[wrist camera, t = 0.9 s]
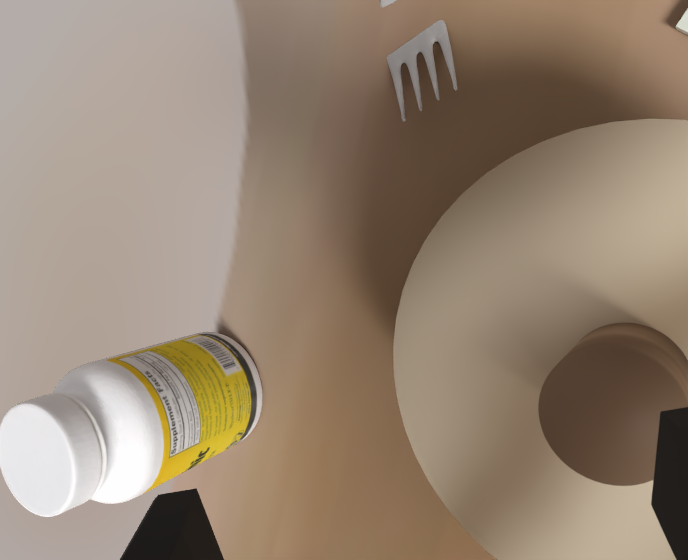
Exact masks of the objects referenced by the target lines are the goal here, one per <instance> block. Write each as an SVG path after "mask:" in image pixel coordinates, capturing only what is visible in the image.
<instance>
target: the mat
mask: <svg viewBox="0 0 688 560" xmlns="http://www.w3.org/2000/svg"><path fill="white" fill-rule="evenodd" d="M676 30H678V31H680V32H682V33H684V34H686V35H688V9H687V11H686V12H685V13H684V15H683V16H682V18H681V19H680V21H679V22H678V24H677V25H676Z"/></svg>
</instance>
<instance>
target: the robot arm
mask: <svg viewBox="0 0 688 560" xmlns="http://www.w3.org/2000/svg"><path fill="white" fill-rule="evenodd" d="M651 506H652V508H653V510H654V512H655V515H656V517H657V519H658V521H659V523H660V526H661V528H662V530H663V532H664V535H665V537H666V539H667V541H668V543H669V545H670V547H671V550H672V552H673V554H674V556H675V558H676V560H688V407H685V408H679V409H673V410H667V411H661V412H660V421H659V431H658V441H657V450H656V460H655V470H654V480H653V490H652V499H651ZM120 560H224V559H223V556H222V553H221V551H220V548H219V546H218V543H217V540H216V538H215V535H214V533H213V530H212V527H211V525H210V522H209V520H208V517H207V514H206V512H205V509H204V507H203V504H202V502H201V499H200V496H199V494H198V491H197V489H191V490H185V491H179V492H173V493H167V494H161V495H158V496H157V497H156V498H155V500H154V501H153V503H152V505H151V506H150V508H149V510H148V511H147V513H146V515H145V517H144V518H143V520H142V522H141V524H140V525H139V527H138V529H137V531H136V532H135V534H134V536H133V538H132V539H131V541H130V543H129V545H128V546H127V548H126V550H125V552H124V553H123V555H122V557H121V558H120Z"/></svg>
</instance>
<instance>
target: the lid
mask: <svg viewBox="0 0 688 560" xmlns="http://www.w3.org/2000/svg"><path fill="white" fill-rule="evenodd" d="M393 358H394V379H395V386H396V393H397V400H398V404H399V408H400V412H401V416H402V420H403V424H404V428H405V430H406V433H407V436H408V438H409V441H410V443H411V446H412V449H413V451H414V454H415V456H416V458H417V460H418V462H419V464H420V466H421V468H422V470H423V472H424V474H425V475H426V477H427V479H428V481H429V483H430V484H431V486H432V487H433V489H434V490H435V492H436V493H437V495H438V496H439V498H440V499H441V501H442V502H443V504H444V505H445V507H446V508H447V509H448V510H449V512H450V513H451V514H452V515H453V516H454V518H455V519H456V520H457V521H458V522H459V524H460V525H461V526H462V527H463V528H464V530H465V531H466V532H467V533H468V534H469V535H470V536H471V537H472V538H474V539H475V540H476V541H477V542H478V543H479V544H480V545H481V546H482V547H483V548H484V549H485V550H486V551H487V552H488V553H489V554H490V555H492V556H493V557H494V558H495V559H497V560H676V558H675V556H674V554H673V552H672V550H671V547H670V545H669V543H668V541H667V539H666V537H665V535H664V532H663V530H662V528H661V526H660V523H659V521H658V519H657V517H656V515H655V512H654V510H653V508H652V506H651V499H652V490H653V480H654V470H655V460H656V450H657V441H658V431H659V421H660V412H661V411H667V410H673V409H679V408H685V407H688V120H674V119H640V120H628V121H616V122H610V123H605V124H600V125H595V126H590V127H585V128H581V129H576V130H573V131H571V132H568V133H565V134H562V135H559V136H556V137H553V138H550V139H547V140H544V141H542V142H540V143H538V144H536V145H534V146H532V147H530V148H528V149H525V150H523V151H521V152H519V153H517V154H515V155H513V156H512V157H510V158H509V159H507V160H506V161H504V162H502V163H501V164H499V165H498V166H496V167H495V168H493V169H492V170H490V171H489V172H487V173H486V174H485V175H483V176H482V177H481V178H480V179H479V180H478V181H476V182H475V183H474V184H473V185H472V186H470V187H469V188H468V189H467V190H466V191H465V192H463V193H462V194H461V196H460V197H459V198H458V199H457V200H456V201H455V202H454V203H453V204H452V205H451V206H450V208H449V209H448V210H447V211H446V212H445V213H444V214H443V215H442V217H441V218H440V219H439V221H438V222H437V224H436V225H435V227H434V228H433V229H432V231H431V232H430V234H429V235H428V237H427V238H426V239H425V241H424V243H423V245H422V247H421V249H420V251H419V253H418V255H417V257H416V258H415V260H414V262H413V264H412V267H411V269H410V272H409V275H408V277H407V280H406V283H405V286H404V288H403V291H402V295H401V300H400V304H399V308H398V312H397V317H396V325H395V334H394V343H393Z"/></svg>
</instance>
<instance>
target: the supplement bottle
mask: <svg viewBox="0 0 688 560" xmlns="http://www.w3.org/2000/svg"><path fill="white" fill-rule="evenodd" d="M261 409H262V386H261V381H260V377H259V374H258V371H257V368H256V366H255V364H254V362H253V361H252V359H251V357H250V356H249V354H248V353H247V352H246V351H245V349H244V348H243V347H242V346H240V345H239V344H238V343H237V342H236V341H234V340H233V339H231V338H229V337H227V336H225V335H222V334H219V333H213V332H203V333H198V334H194V335H190V336H187V337H183V338H179V339H175V340H172V341H168V342H164V343H161V344H157V345H153V346H150V347H146V348H142V349H139V350H135V351H131V352H128V353H124V354H121V355H117V356H113V357H109V358H106V359H102V360H98V361H95V362H91V363H87V364H84V365H81V366H79V367H77V368H75V369H73V370H72V371H70V372H69V373H67V374H66V375H65V376H64V377H63V378H62V379H61V380H60V382H59V383H58V385H57V386H56V387H55V389H54V391H53V393H52V394H49V395H44V396H41V397H37V398H35V399H31V400H28V401H25V402H22V403H19V404H17V405H15V406H14V407H12V408H11V409H10V410H9V411H8V412H7V414H6V415H5V417H4V418H3V420H2V422H1V425H0V467H1V470H2V474H3V476H4V479H5V481H6V483H7V486H8V487H9V489H10V491H11V492H12V494H13V495H14V497H15V498H16V499H17V500H18V501H19V503H20V504H22V505H23V506H24V507H25V508H26V509H27V510H29V511H30V512H32V513H34V514H36V515H39V516H43V517H51V516H56V515H58V514H61V513H63V512H65V511H67V510H69V509H71V508H74V507H76V506H78V505H80V504H83V503H84V502H86V501H87V500H89V499H92V500H94V501H97V502H101V503H109V504H111V503H121V502H125V501H128V500H131V499H133V498H135V497H137V496H139V495H141V494H144V493H146V492H147V491H149V490H151V489H153V488H155V487H157V486H158V485H160V484H162V483H164V482H166V481H168V480H170V479H171V478H173V477H175V476H177V475H179V474H181V473H183V472H185V471H187V470H189V469H191V468H192V467H194V466H196V465H198V464H200V463H201V462H203V461H205V460H207V459H209V458H211V457H213V456H215V455H217V454H219V453H221V452H223V451H225V450H227V449H228V448H230V447H232V446H234V445H236V444H237V443H239V442H240V441H242V440H243V439H245V438H246V437H247V436H248V435H249V434H250V433H251V432H252V430H253V429H254V427H255V426H256V424H257V422H258V419H259V417H260V413H261Z"/></svg>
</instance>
